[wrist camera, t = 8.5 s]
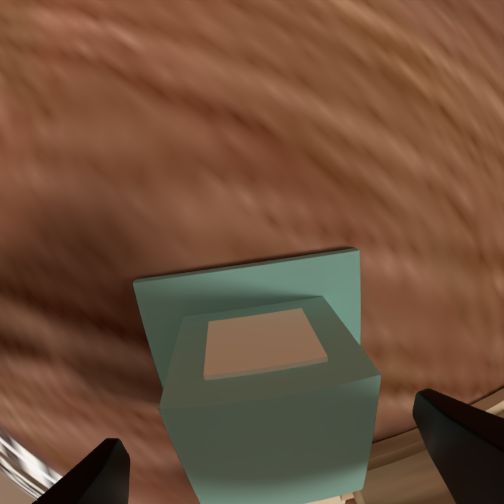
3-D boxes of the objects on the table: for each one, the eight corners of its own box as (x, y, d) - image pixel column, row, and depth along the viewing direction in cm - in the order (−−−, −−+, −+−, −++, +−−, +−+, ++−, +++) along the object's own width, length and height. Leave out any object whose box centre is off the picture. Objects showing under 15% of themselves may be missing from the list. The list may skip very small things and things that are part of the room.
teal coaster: (353, 412, 13) (355, 417, 13) (184, 438, 13) (183, 444, 13) (355, 247, 11) (359, 250, 11) (135, 279, 11) (132, 283, 11)
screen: (498, 423, 16) (558, 490, 7) (337, 489, 15) (375, 599, 7) (514, 381, 15) (588, 449, 6) (340, 452, 14) (392, 582, 6)
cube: (325, 401, 13) (362, 489, 8) (209, 419, 12) (206, 514, 8) (322, 292, 11) (381, 368, 6) (181, 312, 11) (156, 404, 6)
